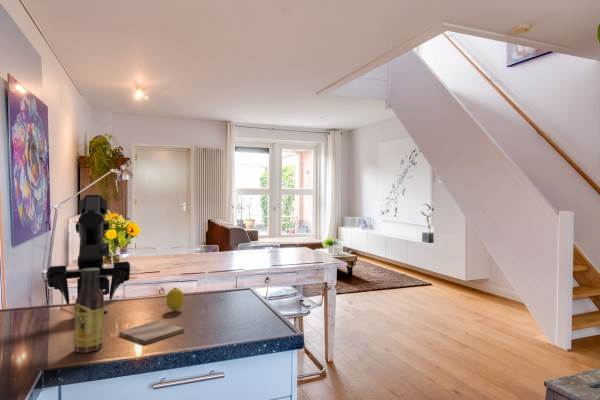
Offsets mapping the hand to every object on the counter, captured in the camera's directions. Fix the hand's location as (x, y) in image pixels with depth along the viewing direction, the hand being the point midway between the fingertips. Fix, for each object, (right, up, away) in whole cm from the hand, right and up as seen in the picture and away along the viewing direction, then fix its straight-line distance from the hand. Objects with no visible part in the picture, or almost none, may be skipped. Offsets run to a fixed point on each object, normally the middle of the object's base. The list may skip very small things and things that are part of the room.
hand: (89, 301), depth 93 cm
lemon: (+11, -12, +32) cm, 36 cm away
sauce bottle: (0, -12, -1) cm, 12 cm away
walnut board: (+11, -12, +10) cm, 19 cm away
